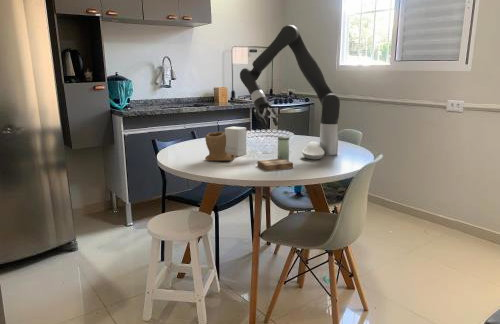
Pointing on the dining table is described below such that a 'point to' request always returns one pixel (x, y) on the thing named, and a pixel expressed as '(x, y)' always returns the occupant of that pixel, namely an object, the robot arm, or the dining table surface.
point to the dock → (275, 164)
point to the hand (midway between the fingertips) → (271, 125)
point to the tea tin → (283, 147)
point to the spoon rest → (313, 151)
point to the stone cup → (217, 147)
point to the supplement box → (235, 140)
